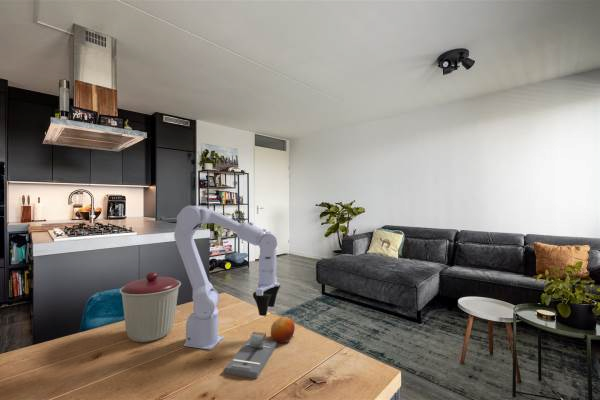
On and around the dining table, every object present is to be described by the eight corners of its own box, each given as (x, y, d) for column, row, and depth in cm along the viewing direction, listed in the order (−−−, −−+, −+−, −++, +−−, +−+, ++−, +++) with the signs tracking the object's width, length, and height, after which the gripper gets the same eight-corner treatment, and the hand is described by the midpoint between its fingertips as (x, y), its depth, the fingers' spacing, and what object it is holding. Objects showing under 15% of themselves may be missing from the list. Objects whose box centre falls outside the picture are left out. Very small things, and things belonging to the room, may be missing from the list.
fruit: (297, 342, 84) (284, 319, 85) (276, 353, 85) (264, 330, 86) (302, 330, 92) (290, 309, 93) (283, 340, 93) (271, 319, 94)
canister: (190, 325, 98) (191, 267, 99) (155, 352, 80) (157, 281, 81) (146, 321, 101) (147, 265, 102) (103, 345, 84) (105, 277, 84)
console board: (224, 373, 70) (224, 364, 70) (249, 342, 86) (249, 335, 86) (257, 378, 68) (257, 369, 68) (276, 346, 84) (276, 339, 84)
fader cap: (250, 346, 80) (250, 334, 81) (253, 342, 83) (253, 330, 83) (263, 348, 80) (263, 335, 80) (265, 344, 82) (265, 331, 82)
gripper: (271, 275, 81) (271, 321, 81) (285, 265, 95) (284, 303, 95) (250, 274, 82) (249, 318, 82) (266, 264, 97) (265, 302, 96)
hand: (267, 310), depth 89 cm, fingers open, 7 cm apart
